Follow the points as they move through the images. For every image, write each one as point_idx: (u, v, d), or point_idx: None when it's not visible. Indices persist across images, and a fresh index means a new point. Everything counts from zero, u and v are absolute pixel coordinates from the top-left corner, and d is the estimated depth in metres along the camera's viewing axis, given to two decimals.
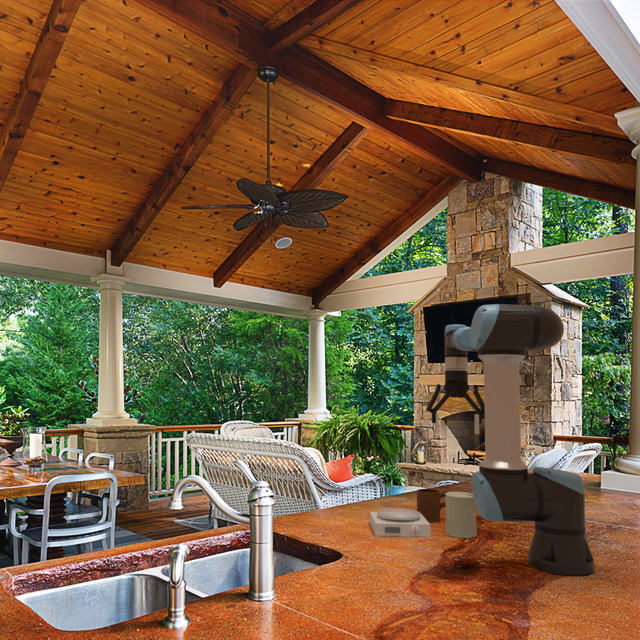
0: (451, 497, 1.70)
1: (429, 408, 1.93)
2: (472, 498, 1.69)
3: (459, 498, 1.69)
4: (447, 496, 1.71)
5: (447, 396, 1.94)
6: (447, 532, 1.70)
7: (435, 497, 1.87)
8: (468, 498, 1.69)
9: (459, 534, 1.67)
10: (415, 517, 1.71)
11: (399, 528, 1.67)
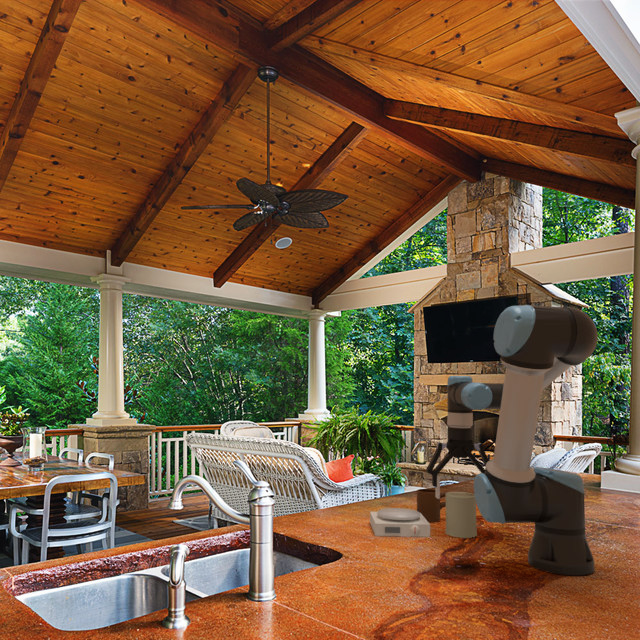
0: (451, 497, 1.70)
1: (429, 470, 1.73)
2: (472, 498, 1.69)
3: (459, 498, 1.69)
4: (447, 496, 1.71)
5: (450, 457, 1.73)
6: (447, 532, 1.70)
7: (435, 497, 1.87)
8: (468, 498, 1.69)
9: (459, 534, 1.67)
10: (415, 517, 1.71)
11: (399, 528, 1.67)
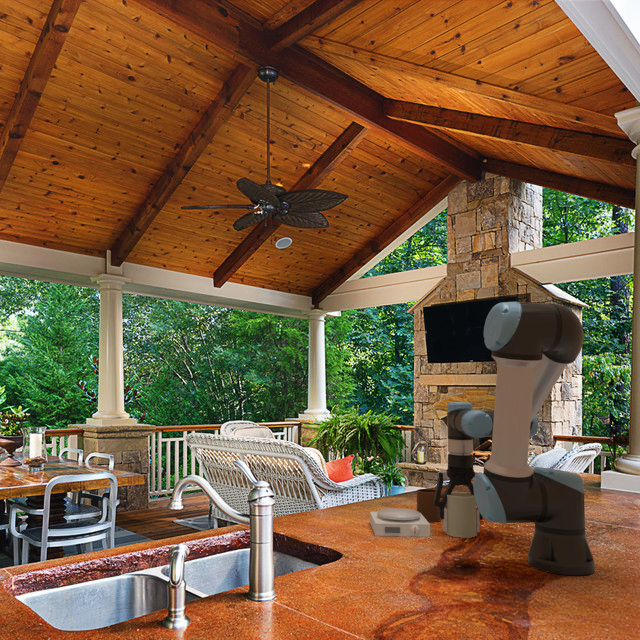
0: (451, 497, 1.70)
1: (436, 502, 1.71)
2: (472, 498, 1.69)
3: (459, 498, 1.69)
4: (447, 496, 1.71)
5: (452, 486, 1.71)
6: (447, 532, 1.70)
7: None
8: (468, 498, 1.69)
9: (459, 533, 1.67)
10: (415, 517, 1.71)
11: (399, 528, 1.67)
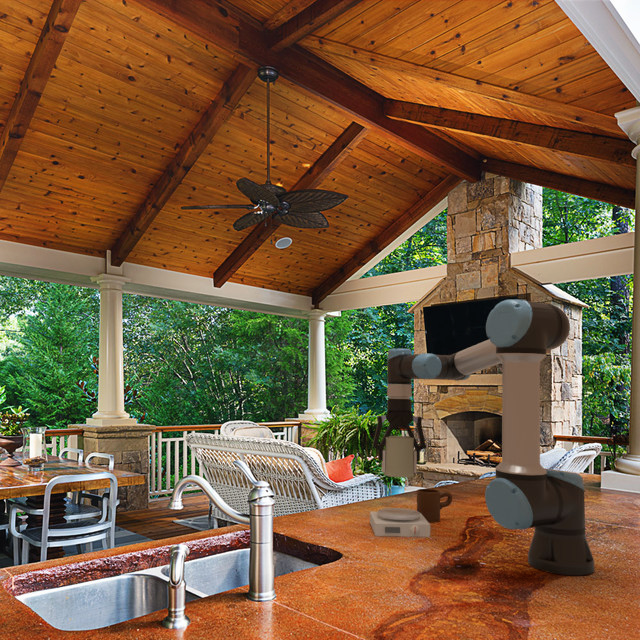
0: (389, 439, 1.76)
1: (375, 444, 1.77)
2: (409, 439, 1.75)
3: (396, 439, 1.74)
4: None
5: (391, 428, 1.77)
6: (385, 473, 1.76)
7: (435, 497, 1.87)
8: (405, 439, 1.74)
9: (396, 473, 1.73)
10: (415, 517, 1.71)
11: (399, 528, 1.67)
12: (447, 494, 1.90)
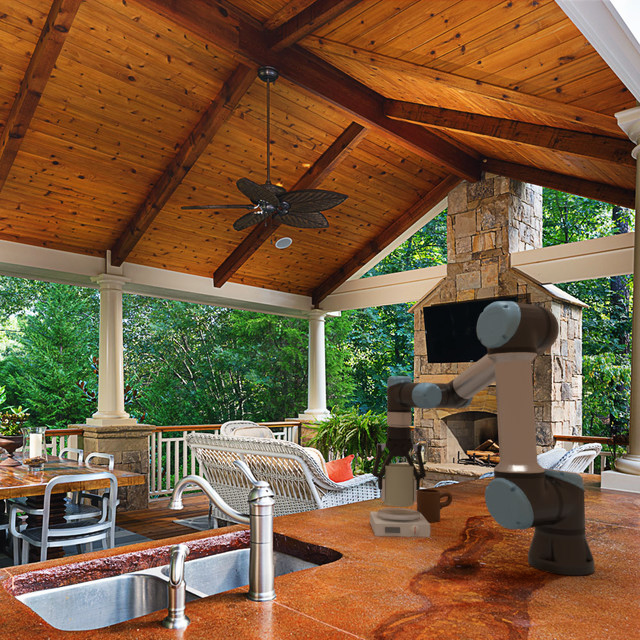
0: (388, 467, 1.75)
1: (374, 473, 1.76)
2: (408, 468, 1.74)
3: (396, 468, 1.73)
4: (385, 467, 1.76)
5: (390, 457, 1.76)
6: (385, 501, 1.75)
7: (435, 497, 1.87)
8: (404, 468, 1.73)
9: (395, 502, 1.72)
10: (415, 517, 1.71)
11: (399, 528, 1.67)
12: (447, 494, 1.90)
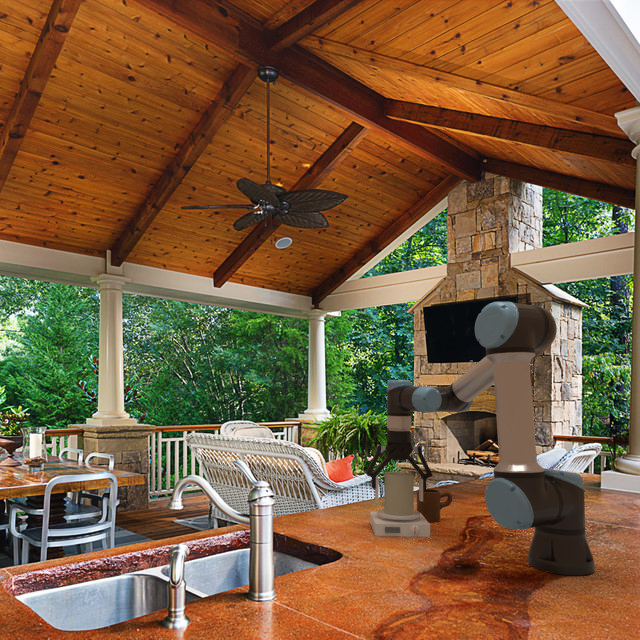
0: (388, 476, 1.74)
1: (368, 472, 1.76)
2: (409, 477, 1.74)
3: (396, 477, 1.73)
4: (385, 475, 1.76)
5: (388, 459, 1.76)
6: (385, 510, 1.75)
7: (435, 497, 1.87)
8: (405, 477, 1.73)
9: (396, 511, 1.72)
10: (415, 517, 1.71)
11: (399, 528, 1.67)
12: (447, 494, 1.90)
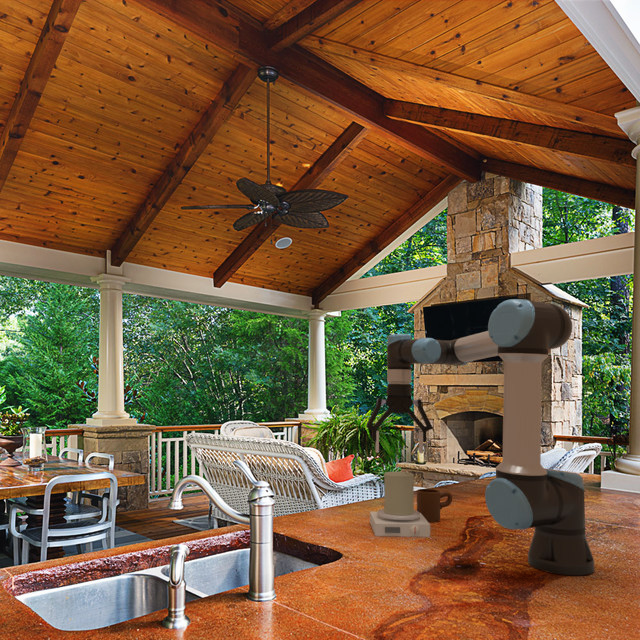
0: (388, 476, 1.74)
1: (369, 425, 1.78)
2: (409, 477, 1.74)
3: (396, 477, 1.73)
4: (385, 475, 1.76)
5: (388, 412, 1.78)
6: (385, 510, 1.75)
7: (435, 497, 1.87)
8: (405, 477, 1.73)
9: (396, 511, 1.72)
10: (415, 517, 1.71)
11: (399, 528, 1.67)
12: (447, 494, 1.90)
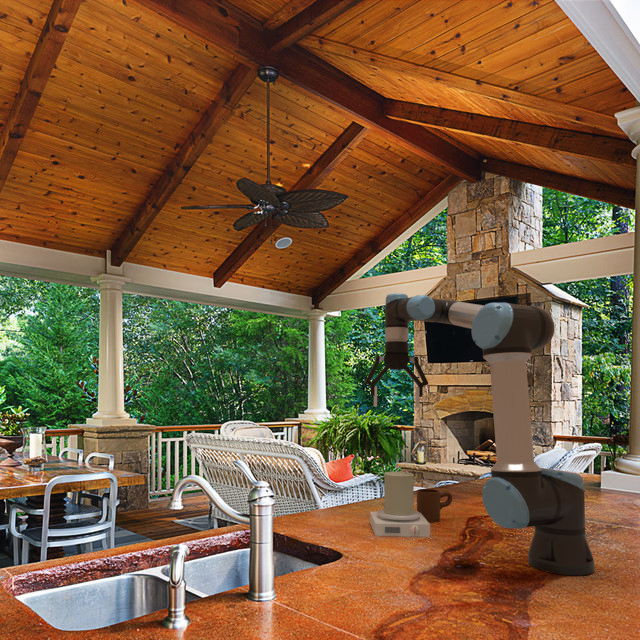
0: (388, 476, 1.74)
1: (367, 380, 1.85)
2: (409, 477, 1.74)
3: (396, 477, 1.73)
4: (385, 475, 1.76)
5: (386, 368, 1.85)
6: (385, 510, 1.75)
7: (435, 497, 1.87)
8: (405, 477, 1.73)
9: (396, 511, 1.72)
10: (415, 517, 1.71)
11: (399, 528, 1.67)
12: (447, 494, 1.90)
